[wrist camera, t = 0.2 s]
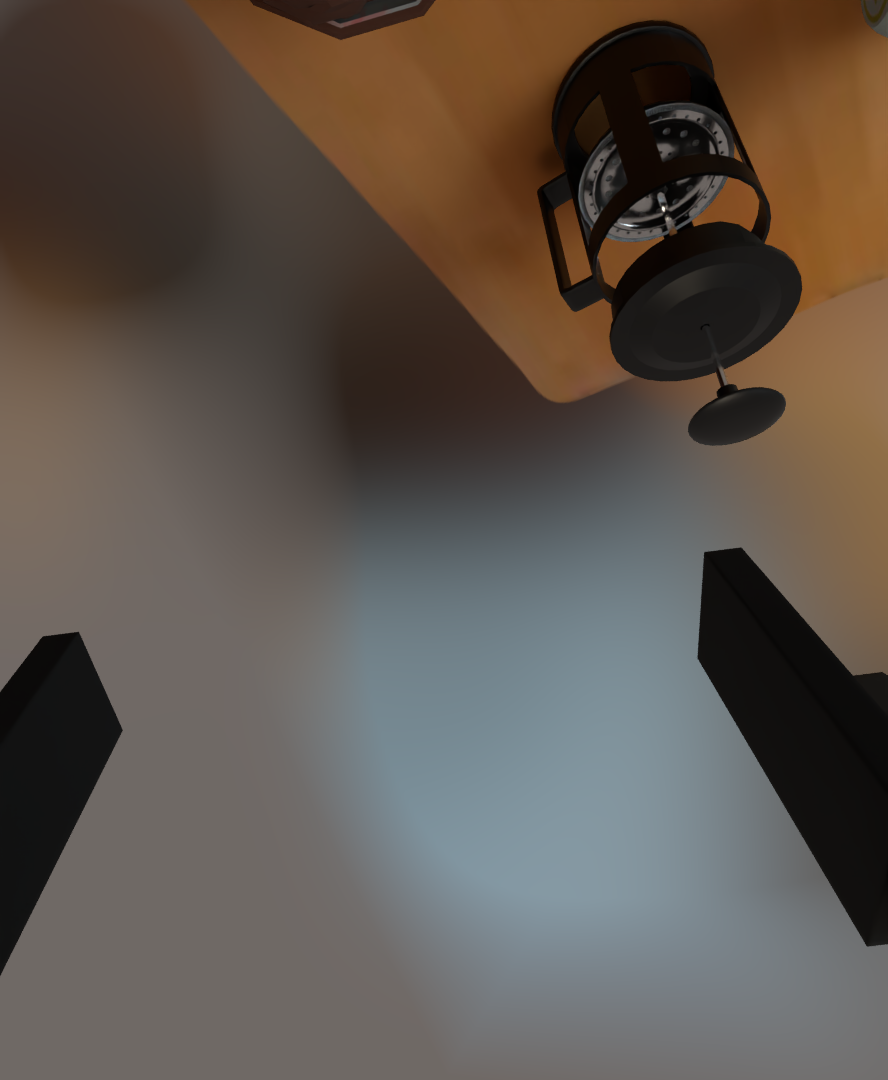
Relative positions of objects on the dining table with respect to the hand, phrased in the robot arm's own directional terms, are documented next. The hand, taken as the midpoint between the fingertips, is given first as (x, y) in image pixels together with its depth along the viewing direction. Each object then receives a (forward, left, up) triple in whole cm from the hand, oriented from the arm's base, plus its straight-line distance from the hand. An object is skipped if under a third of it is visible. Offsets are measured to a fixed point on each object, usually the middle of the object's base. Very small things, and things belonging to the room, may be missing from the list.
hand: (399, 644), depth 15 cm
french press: (+18, +7, -36) cm, 40 cm away
